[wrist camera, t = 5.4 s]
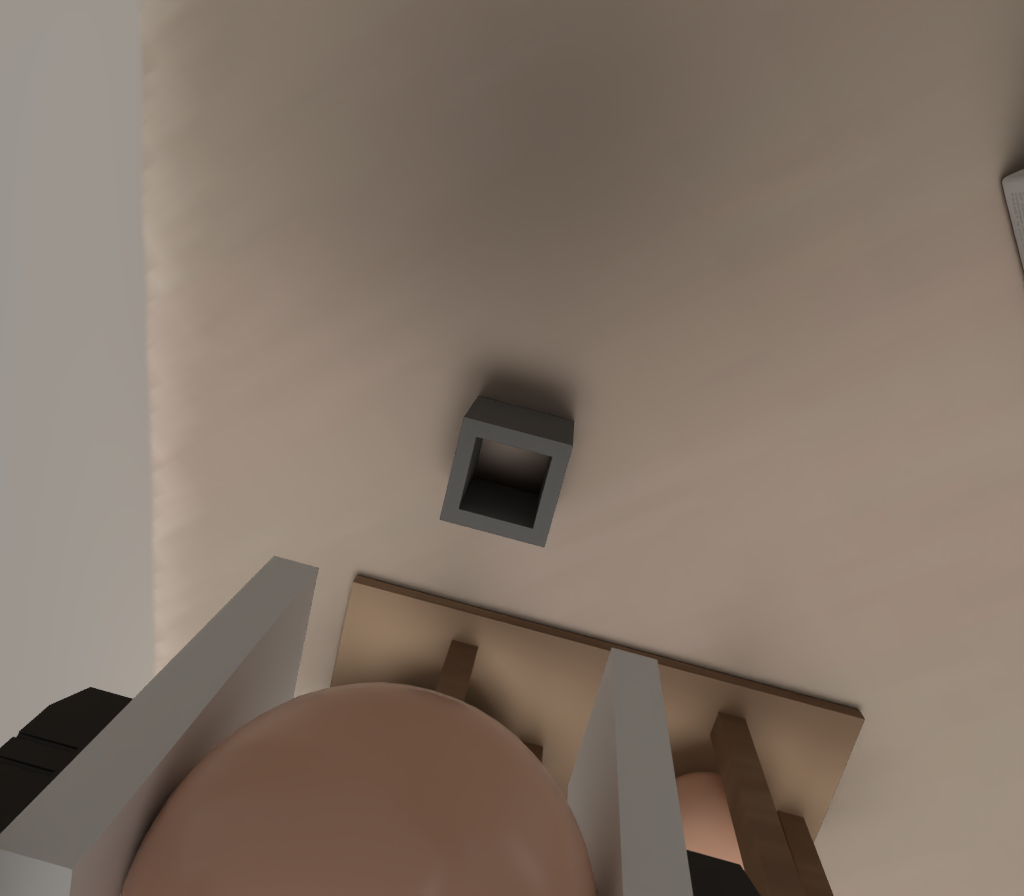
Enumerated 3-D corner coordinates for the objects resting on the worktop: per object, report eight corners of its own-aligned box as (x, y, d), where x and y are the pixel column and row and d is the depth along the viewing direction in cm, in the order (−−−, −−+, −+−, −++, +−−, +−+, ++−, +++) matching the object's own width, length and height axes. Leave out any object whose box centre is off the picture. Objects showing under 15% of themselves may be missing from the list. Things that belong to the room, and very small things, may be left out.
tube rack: (357, 575, 30) (257, 720, 21) (859, 710, 30) (981, 918, 21) (300, 839, 33) (192, 1067, 24) (754, 964, 33) (820, 1245, 24)
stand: (478, 396, 28) (464, 416, 25) (574, 421, 28) (572, 445, 25) (456, 487, 29) (439, 519, 26) (548, 511, 29) (544, 547, 26)
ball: (654, 727, 30) (667, 820, 25) (787, 763, 30) (826, 863, 25) (617, 838, 31) (623, 947, 26) (744, 872, 31) (773, 988, 26)
